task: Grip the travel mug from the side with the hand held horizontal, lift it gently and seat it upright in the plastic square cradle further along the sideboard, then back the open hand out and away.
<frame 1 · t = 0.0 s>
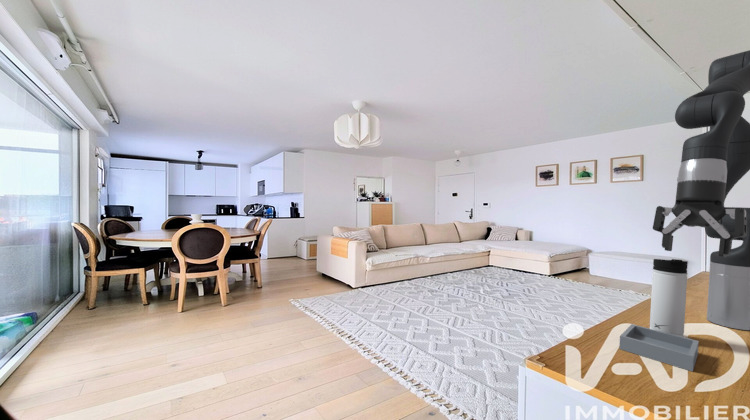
hand: (693, 253, 68), 22 cm above the sideboard, tool pointing down, fingers open, 8 cm apart
travel mug: (666, 337, 77), on the sideboard
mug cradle: (658, 351, 69), on the sideboard
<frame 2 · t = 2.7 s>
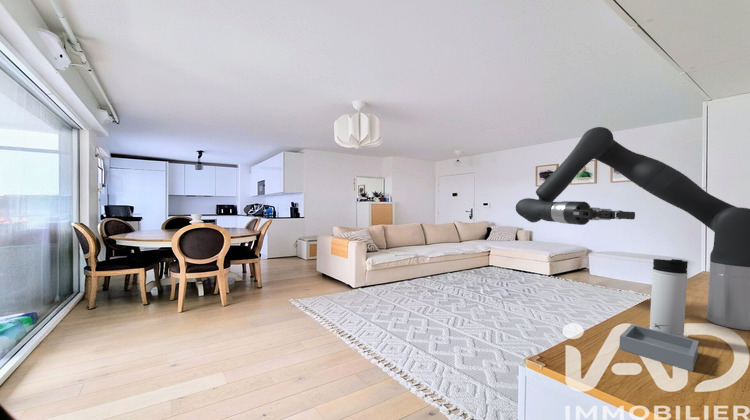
hand: (624, 215, 86), 30 cm above the sideboard, tool horizontal, fingers open, 8 cm apart
nothing on the sideboard moved.
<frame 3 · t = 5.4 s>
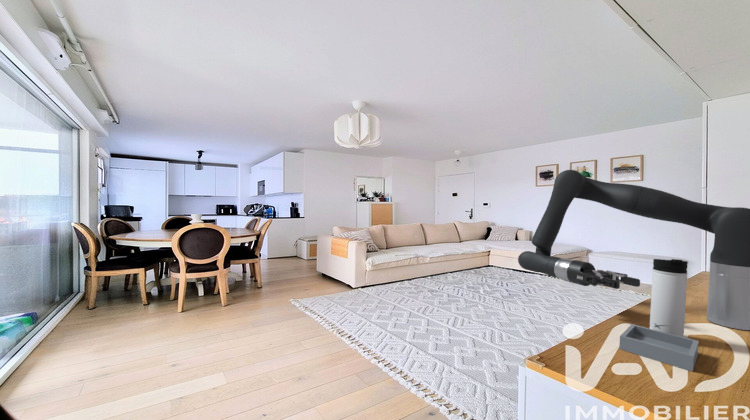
hand: (629, 284, 85), 11 cm above the sideboard, tool horizontal, fingers open, 8 cm apart
nothing on the sideboard moved.
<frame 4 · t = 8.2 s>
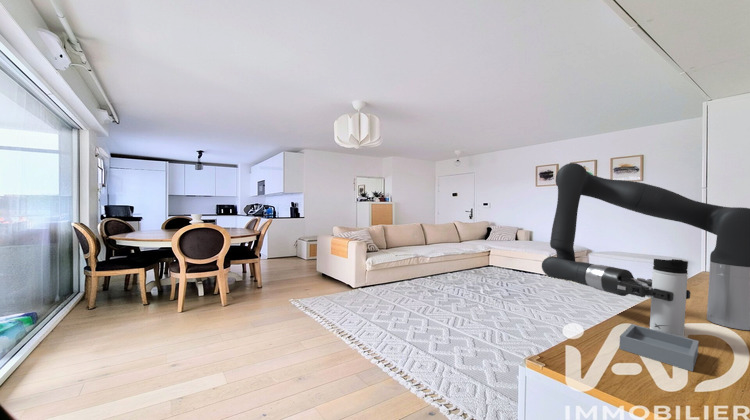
hand: (680, 296, 75), 11 cm above the sideboard, tool horizontal, fingers closed on travel mug, 6 cm apart
travel mug: (666, 337, 77), on the sideboard, touching gripper
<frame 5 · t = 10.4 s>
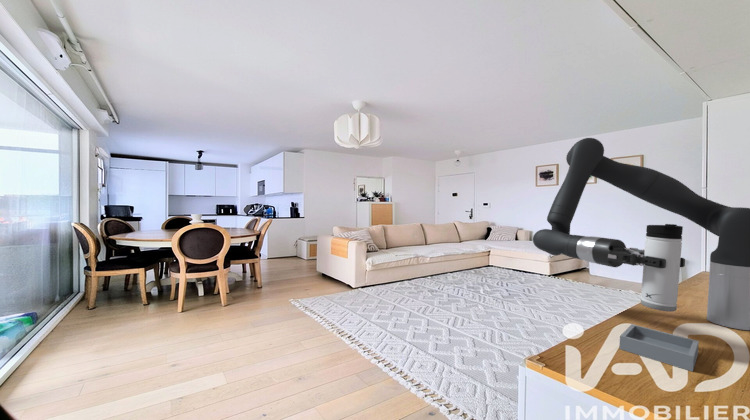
hand: (674, 263, 70), 20 cm above the sideboard, tool horizontal, fingers closed on travel mug, 6 cm apart
travel mug: (658, 308, 73), point 9 cm above the sideboard, touching gripper
when the fingers open (13 cm above the sideboard, at t = 12.8 s): travel mug drops 1 cm, resting on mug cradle.
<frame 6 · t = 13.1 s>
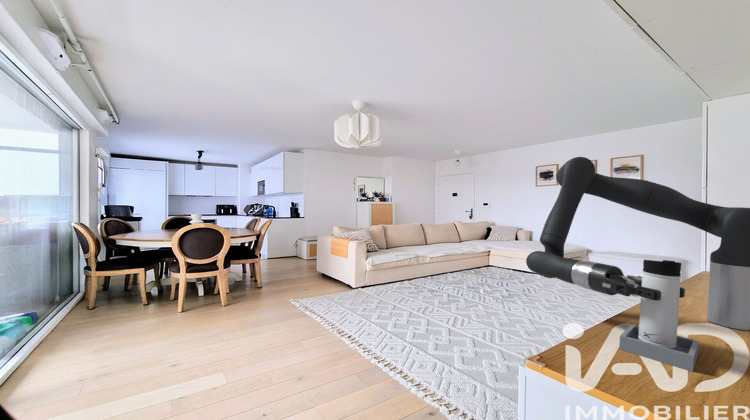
hand: (672, 294, 67), 13 cm above the sideboard, tool horizontal, fingers open, 8 cm apart
travel mug: (656, 347, 69), point 1 cm above the sideboard, touching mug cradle
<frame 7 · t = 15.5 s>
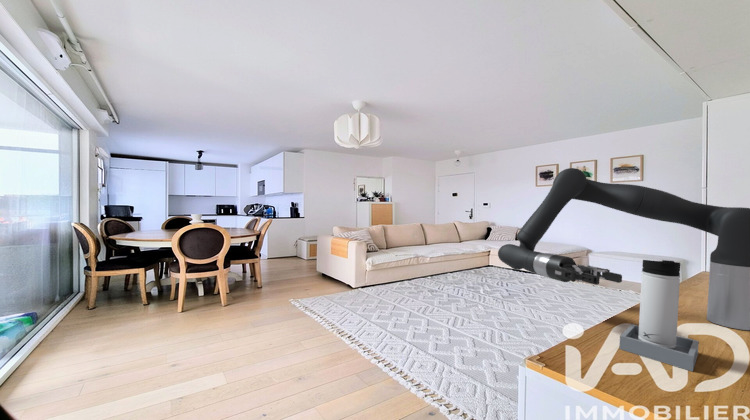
hand: (610, 279, 79), 14 cm above the sideboard, tool horizontal, fingers open, 8 cm apart
nothing on the sideboard moved.
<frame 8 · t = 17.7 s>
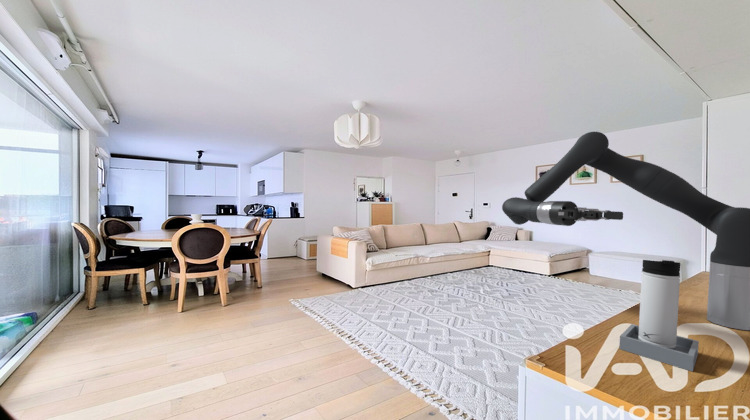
hand: (611, 215, 81), 30 cm above the sideboard, tool horizontal, fingers open, 8 cm apart
nothing on the sideboard moved.
at the end: travel mug 0.3 cm off-centre on the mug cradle, point 0.8 cm above the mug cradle's base; travel mug tilted 0°; the gripper is holding nothing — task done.
